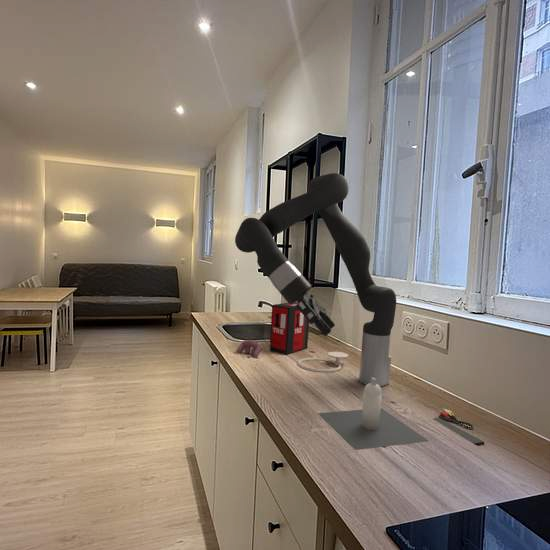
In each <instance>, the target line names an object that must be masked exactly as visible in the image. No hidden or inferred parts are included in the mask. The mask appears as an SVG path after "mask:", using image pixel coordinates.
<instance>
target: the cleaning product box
mask: <svg viewBox="0 0 550 550" xmlns="http://www.w3.org/2000/svg"><path fill="white" fill-rule="evenodd" d="M297 304H298V302H297V301H296V302H295V303H293V304H292V305H290V304H289V303H288V302H284V303H277V304H272V306H271V322H270V334H269V336H270V338H269V339H270V340H269V352H271V353H276V354H279V355H285V356H289V355H292V354H296V353H298V352H301V351H304V350H307V349H308V346H309V345H308V344H309V328H310V323H309V321H308V320H307V319H306V318H305V316H304V315H303V314H302V313H301V311H300V310H299V309H298V308H297V306H296V305H297Z"/></svg>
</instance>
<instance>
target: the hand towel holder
mask: <svg viewBox="0 0 550 550" xmlns="http://www.w3.org/2000/svg"><path fill="white" fill-rule="evenodd" d="M327 355H328V356H329V357H331V358H334V359H335V360H333V359H330V358H326V357H325V358H323V357H304V358H301V359H298V361H297V365H298V366H299V368H301V369H303V370H306V371H311V372H316V373H317V372H318V373H334V372H339V371H340V370H341V369H342V364H341V362H340V359H346V358H348V357H349V354H348V353H345V352H343V351H329V352H327ZM305 361H322V362H323V361H324V362H329V363H332V364H334V365H335V366H338V367H335V368H331V369H330V368H329V369H323V368H312V367H308V366H306V365H302V364H301V363H302V362H305Z"/></svg>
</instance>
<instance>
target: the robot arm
mask: <svg viewBox="0 0 550 550" xmlns="http://www.w3.org/2000/svg"><path fill="white" fill-rule="evenodd" d="M349 187H350V186H349V181H348V180H347V179H346V177H345V176H344V175H343V174H340V173H337V172H331V173H327V174H323V175H322V174H321V175H318V176H316V177H314V178H311V180H310V182H309V183H308V187H307V188H308V191H307V192H305V193H303V194H300V195H298V196H295V197H292V198H290V199H288V200H286V201H283V202H281V203H279V204H277V205H276V206H274V207H272V208H270V209H268V210H266V211H265V212H264V213H262V215H261V216H260V218H259V219H258V218H257V217H247V218H245V219H243V220H242V222H240V225H239V228H238V230H237V232H236V234H235V238H234V242H235V246H236V248H237V249H238V250H239V251H240V252H243V253H247V254H248V253H250V254H251V253H253V252H254V253H255V254H256V256H257V257H256V258H257V261H256V262H257V265H258V267H259V268H260V270H261V271H262V272H263V273H264V274H265V276H267V278H268V279H269V280H270V281H271V283H272V285H273V286H274V288H275V289H276V290H277V291H278V292H279V294H280V295H281V296H282V298H284V299H285V301H286V303H289V304H290V305H292V304H293V303H295V302H297V303H298V304H297V305H296V306H297V308H298V309H299V310H300V311H301V313H302V314H303V315H304V316H305V318H306V319H307V320H308V321H309V325H310V324H311V325H314V326H315V327H316V329H318V330H319V332H320V333H322V334H321V335H323V336H328V335H329V334H330V333H331V331H332V329H333V328H334V327H335V325H336V324H335V322H334V321H333V320H332V319H331V318H330V316H329V315H328V314H327V311H326V308H325V307H323V305H322V304H321V303H320V301H318V300H317V298H316V297H315V295H314V294H309V293H308V292H310V290H311V289H312V284H311V283H310V282H309V281H308V280H307V279H306V278H305V276H304V274H302V273H301V272H300V271H299V269H298V268H297V267H296V266H295V265H294V264H293V263H292V262H290V260H289V259H288V258H287V257H286V255H285V254H284V253H283V252H282V251H281V250H280V248H279V246H278V245H277V242H276V241H275V239H274V237H276V236H277V235H278V234H280V233H282V232H284V231H286V230H287V229H289V228H291V227H292V226H294V225H296V224H297V223H298V222H301V221H302V220H304V219H306V218H307V217H309V216H311V215H313V214H315V213H316V212H317V213H318V214H319V216H320V217H321V219H322V221H323V223H324V224H325V226H326V227H327V230H328V231H329V233H330V236H331V238H332V240H333V242H334V244H335V246H336V249H337V251H338V253H339V255H340V258H341V260H342V261H343V263H344V265H345V267H346V269H347V272H348V274H349V275H350V278H351V280H352V282H353V285H354V288H355V291H356V293H357V297H358V299H359V303H360V305H361V306H362V308H363V309H364V310H365V311H367V312H370V313H373V318H372V320H371V321H368V322H364V323H363V326H362V336H361V337H362V339H361V350H360V351H361V352H360V365H359V377H358V378H359V379H358V381H359V382H360V383H361V384H364V385H365V386H366V385H367V384H369V383H371V378H372V377H373V378H375V379H377V384H378V385H379V386H380V387H384V385H385V386H386V385H389V384H390V378H391V377H390V376H391V365H392V364H391V363H392V356H390V344H391V342H390V341H391V331H392V328H393V326H394V323H395V317H396V309H397V295H396V293H395V291H394V290H393V289H392V288H390V287H386V286H381V285H380V286H379V285H377V284H375V282H374V280H373V278H372V276H371V274H370V262H371V251H370V248H369V245H368V242H367V241H366V239H365V236H364V234H363V233H362V231H361V230H360V229H359V228H358V227H357V226H356V225H355V224H354V223H353V222H352V221H351V220H349V218H347V216H345V215H344V213H343V212H342V211H341V209H340V207H339V205H338V204H339V203H342V202H343V201H345V199H346V198H347V197H348V195H349V189H350V188H349Z"/></svg>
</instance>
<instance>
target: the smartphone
mask: <svg viewBox="0 0 550 550" xmlns="http://www.w3.org/2000/svg"><path fill="white" fill-rule="evenodd" d="M432 420H433V421H435V422H437V423H439V424H440V425H442V426H444V427H445V428H447V429H449V430H450V431H451V432H454V433H455V434H457V435H458V436H460V437H462V438H463V439H465V440H466V441H468V442H470V444H471V443H472V444H473V445H474V446H476V445H478V446H480V445H479V444H483V445H485V441H483V440H482V439H480V438H478V437H476V436H474V435H473V434H471V433H469V432H467V431H466V430H463V429H461V428H459V427H457V426H456V425H455V424H454V425H453V423H451V422H448V421H445V420H442V419H440V418H439V417H434V418H433V417H432Z"/></svg>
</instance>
